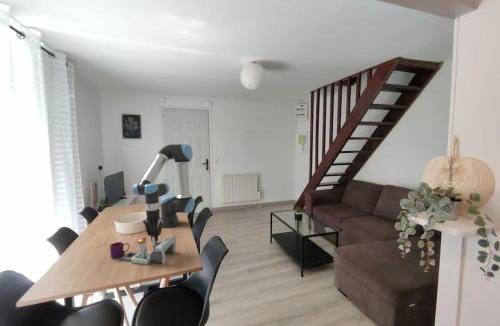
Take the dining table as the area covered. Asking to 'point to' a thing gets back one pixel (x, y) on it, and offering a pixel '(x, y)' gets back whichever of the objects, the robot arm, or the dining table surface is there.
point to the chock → (157, 244)
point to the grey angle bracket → (163, 250)
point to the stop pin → (143, 248)
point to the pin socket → (126, 257)
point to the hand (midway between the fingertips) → (154, 246)
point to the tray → (141, 261)
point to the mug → (117, 249)
